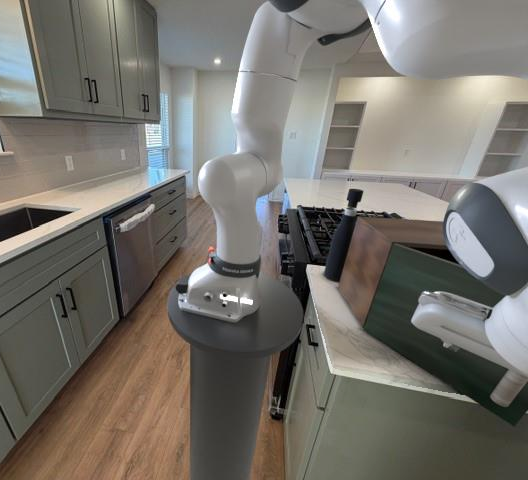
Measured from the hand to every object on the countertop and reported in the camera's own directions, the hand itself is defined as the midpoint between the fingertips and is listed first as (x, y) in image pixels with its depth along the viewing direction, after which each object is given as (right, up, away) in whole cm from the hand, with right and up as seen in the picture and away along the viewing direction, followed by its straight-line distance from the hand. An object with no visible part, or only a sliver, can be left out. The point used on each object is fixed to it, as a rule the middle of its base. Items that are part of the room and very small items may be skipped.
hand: (495, 364), depth 35 cm
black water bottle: (+4, +4, +52) cm, 53 cm away
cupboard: (+14, -3, +37) cm, 39 cm away
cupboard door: (+4, -10, +17) cm, 20 cm away
